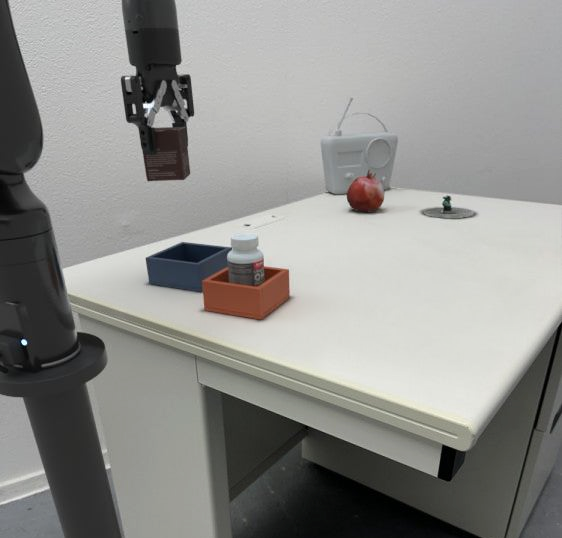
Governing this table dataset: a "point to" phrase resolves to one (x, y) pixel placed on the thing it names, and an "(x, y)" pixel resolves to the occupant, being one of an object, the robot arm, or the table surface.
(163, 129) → the box
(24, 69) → the robot arm
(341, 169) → the radio
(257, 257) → the pill bottle
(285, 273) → the terracotta bin
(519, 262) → the table surface
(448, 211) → the sculpture
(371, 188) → the fruit
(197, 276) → the slate bin
